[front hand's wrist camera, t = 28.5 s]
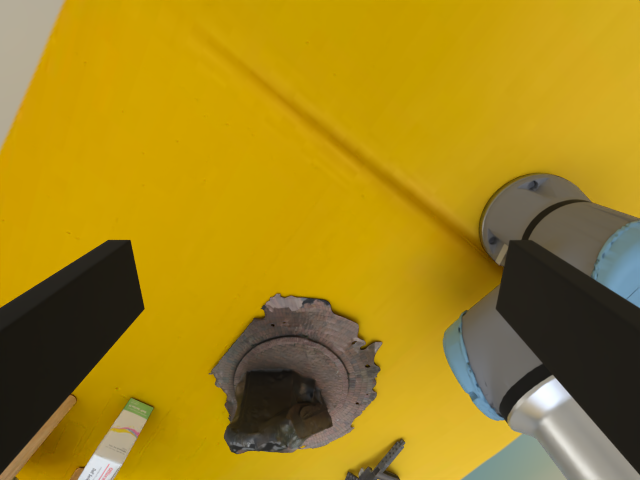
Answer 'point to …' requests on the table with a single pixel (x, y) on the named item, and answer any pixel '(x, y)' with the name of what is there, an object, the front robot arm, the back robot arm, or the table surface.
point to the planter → (40, 442)
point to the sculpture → (295, 378)
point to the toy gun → (380, 467)
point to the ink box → (117, 442)
